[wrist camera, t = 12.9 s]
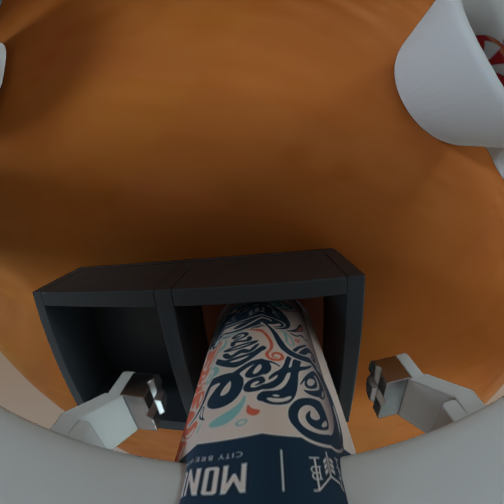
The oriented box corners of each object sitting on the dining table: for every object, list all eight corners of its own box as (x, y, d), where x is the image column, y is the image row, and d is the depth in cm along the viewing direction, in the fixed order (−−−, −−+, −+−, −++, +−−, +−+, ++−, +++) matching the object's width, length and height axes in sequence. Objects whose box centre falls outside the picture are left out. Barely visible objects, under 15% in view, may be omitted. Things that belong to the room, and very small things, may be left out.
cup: (508, 156, 12) (589, 157, 4) (454, 222, 13) (555, 252, 5) (422, 25, 10) (486, -29, 2) (348, 68, 12) (414, -15, 4)
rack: (111, 372, 16) (81, 413, 12) (80, 267, 14) (32, 292, 10) (330, 370, 15) (348, 422, 11) (334, 247, 14) (365, 274, 9)
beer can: (292, 270, 13) (381, 536, 2) (320, 348, 14) (384, 560, 3) (202, 303, 14) (98, 537, 2) (239, 374, 15) (215, 581, 3)
